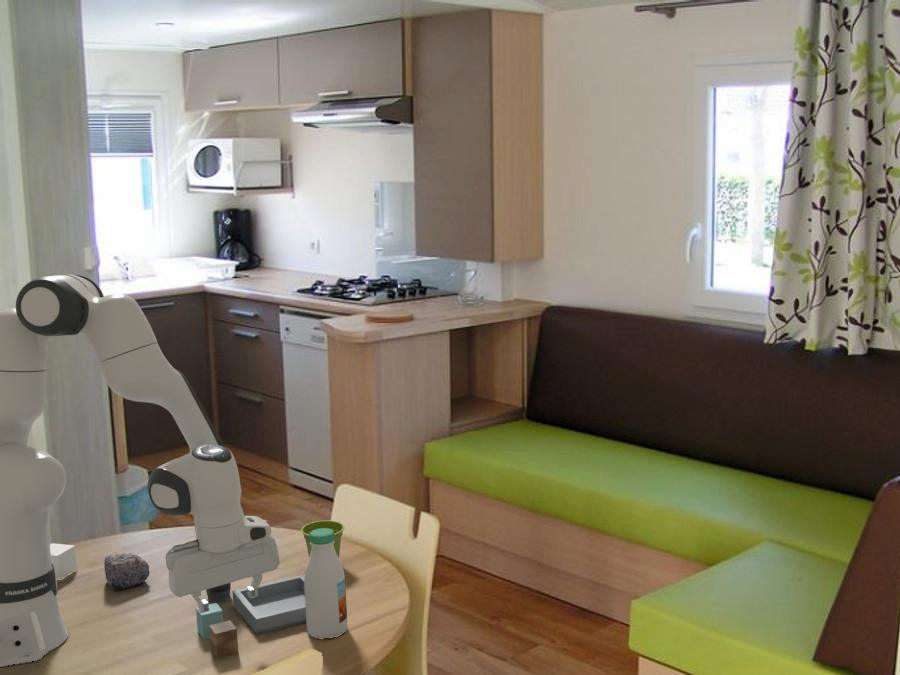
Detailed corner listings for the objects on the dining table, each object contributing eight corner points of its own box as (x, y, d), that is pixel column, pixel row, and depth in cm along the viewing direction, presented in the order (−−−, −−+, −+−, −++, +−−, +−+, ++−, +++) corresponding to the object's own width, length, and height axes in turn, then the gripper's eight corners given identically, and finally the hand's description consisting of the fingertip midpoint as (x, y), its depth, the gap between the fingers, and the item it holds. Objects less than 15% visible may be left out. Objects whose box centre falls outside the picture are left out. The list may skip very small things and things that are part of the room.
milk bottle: (330, 644, 202) (325, 542, 198) (298, 635, 206) (292, 535, 202) (355, 627, 208) (350, 528, 205) (324, 619, 213) (318, 521, 209)
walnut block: (217, 659, 198) (215, 633, 197) (211, 650, 201) (209, 625, 200) (238, 653, 199) (236, 628, 199) (232, 645, 203) (230, 620, 202)
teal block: (203, 640, 205) (201, 615, 204) (197, 631, 209) (195, 607, 208) (224, 634, 207) (222, 610, 206) (218, 626, 211) (216, 602, 210)
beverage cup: (228, 606, 220) (221, 512, 216) (194, 604, 221) (187, 510, 217) (242, 591, 227) (235, 499, 223) (209, 589, 228) (202, 498, 224)
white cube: (60, 582, 235) (57, 555, 234) (37, 579, 236) (34, 553, 235) (77, 571, 240) (75, 545, 239) (54, 568, 242) (52, 543, 241)
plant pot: (355, 561, 240) (353, 524, 239) (328, 577, 232) (326, 538, 231) (321, 554, 245) (319, 517, 244) (294, 568, 237) (292, 531, 236)
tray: (257, 634, 207) (256, 619, 206) (233, 605, 220) (232, 590, 219) (331, 616, 214) (331, 600, 213) (304, 588, 227) (303, 574, 226)
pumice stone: (149, 584, 237) (103, 575, 236) (156, 551, 236) (110, 542, 235) (139, 603, 227) (91, 593, 226) (147, 569, 226) (99, 559, 225)
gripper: (169, 554, 190) (178, 626, 193) (279, 525, 200) (286, 594, 203) (159, 542, 195) (168, 613, 198) (266, 514, 205) (273, 582, 208)
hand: (228, 603), depth 200 cm, fingers open, 8 cm apart
